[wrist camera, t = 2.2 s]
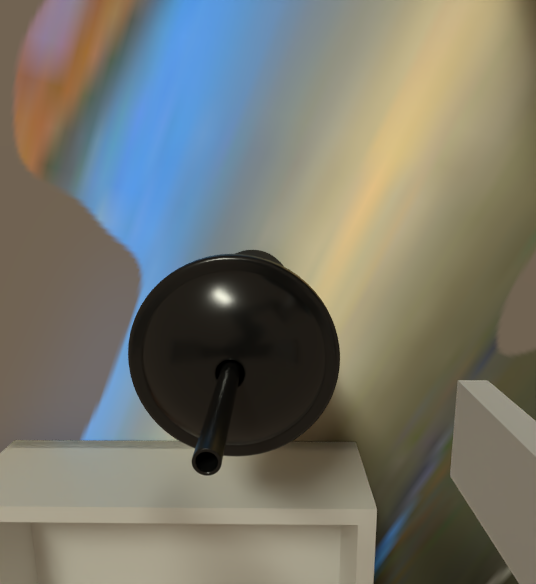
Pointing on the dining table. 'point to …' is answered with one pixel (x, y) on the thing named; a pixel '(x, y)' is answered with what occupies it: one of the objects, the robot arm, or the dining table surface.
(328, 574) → the box
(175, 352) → the drinking cup
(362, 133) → the dining table surface
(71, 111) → the dining table surface
